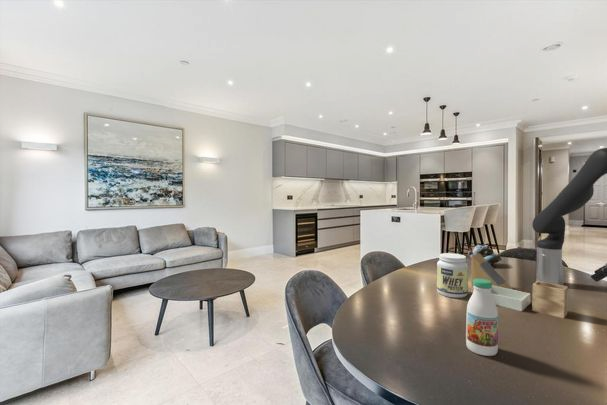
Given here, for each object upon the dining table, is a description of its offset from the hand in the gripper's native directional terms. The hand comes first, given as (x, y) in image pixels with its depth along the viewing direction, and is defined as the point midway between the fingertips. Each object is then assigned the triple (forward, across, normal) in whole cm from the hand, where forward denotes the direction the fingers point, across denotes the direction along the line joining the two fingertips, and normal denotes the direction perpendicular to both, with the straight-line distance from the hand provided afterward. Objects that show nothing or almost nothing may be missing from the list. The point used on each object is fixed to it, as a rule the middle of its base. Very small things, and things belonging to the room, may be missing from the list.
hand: (595, 276), depth 100 cm
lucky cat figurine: (+48, -56, -26) cm, 79 cm away
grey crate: (+29, +1, -7) cm, 30 cm away
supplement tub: (+42, +7, -20) cm, 47 cm away
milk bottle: (+24, +47, -2) cm, 53 cm away
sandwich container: (+36, -13, -13) cm, 40 cm away
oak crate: (+20, 0, +3) cm, 20 cm away
